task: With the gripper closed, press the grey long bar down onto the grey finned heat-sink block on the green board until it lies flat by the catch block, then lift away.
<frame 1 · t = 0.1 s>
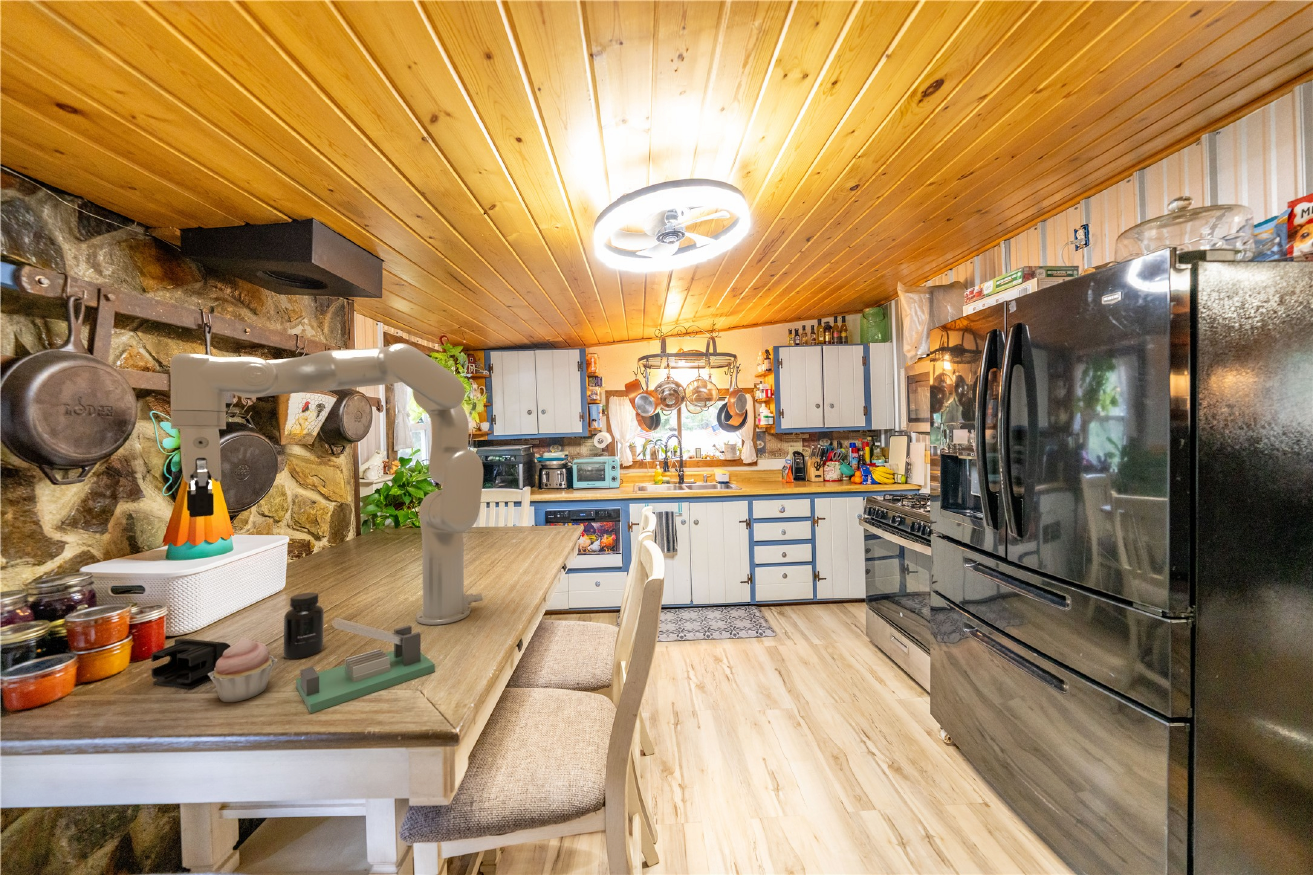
hand: (200, 513, 92), 31 cm above the table, fingers open, 9 cm apart
grey long bar: (374, 632, 93), point 8 cm above the table, hinge at 30.0°
board: (367, 679, 93), on the table
cupcake: (243, 694, 88), on the table
supplement bottle: (304, 653, 104), on the table
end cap: (192, 679, 93), on the table
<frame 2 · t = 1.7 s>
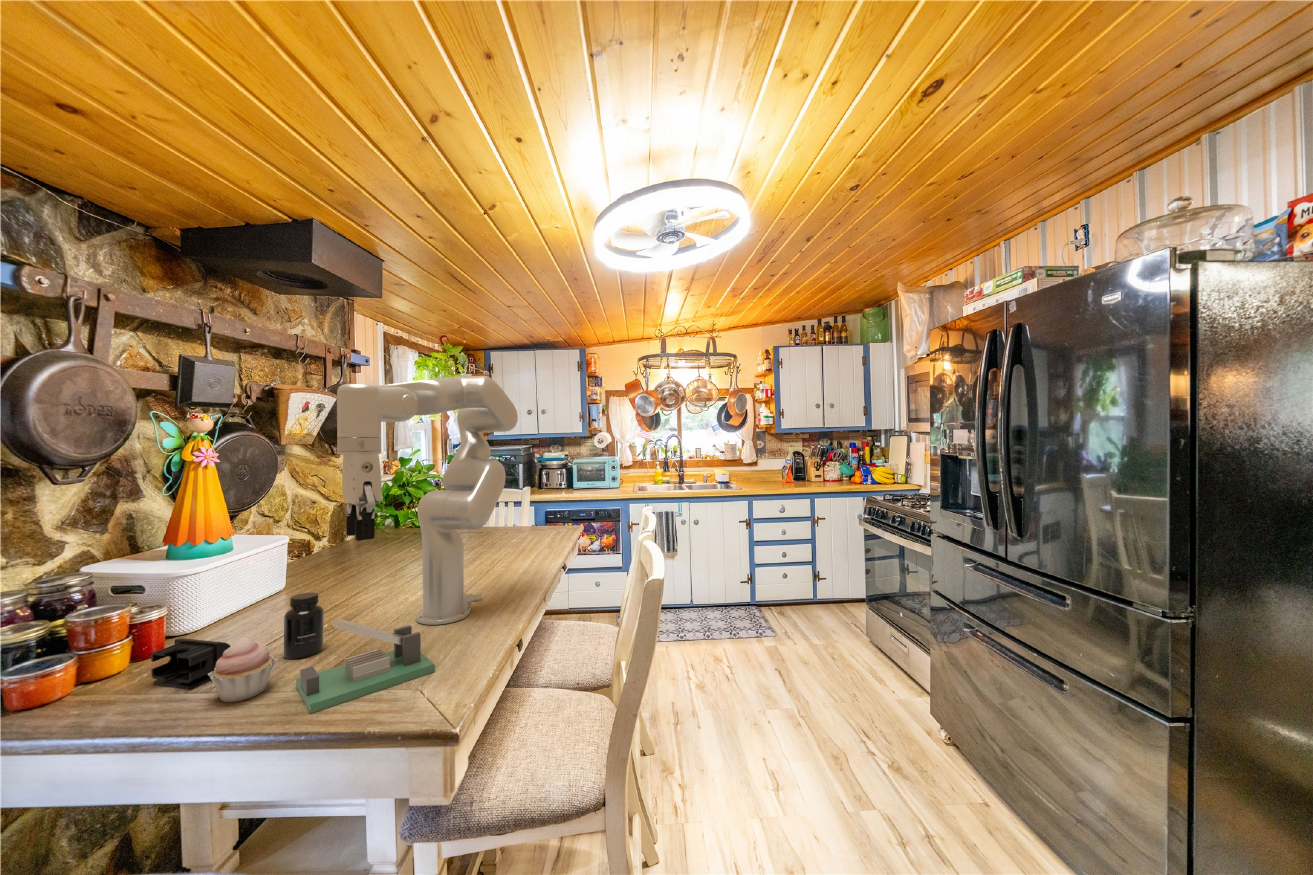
hand: (360, 536, 99), 25 cm above the table, fingers open, 5 cm apart
nothing on the table moved.
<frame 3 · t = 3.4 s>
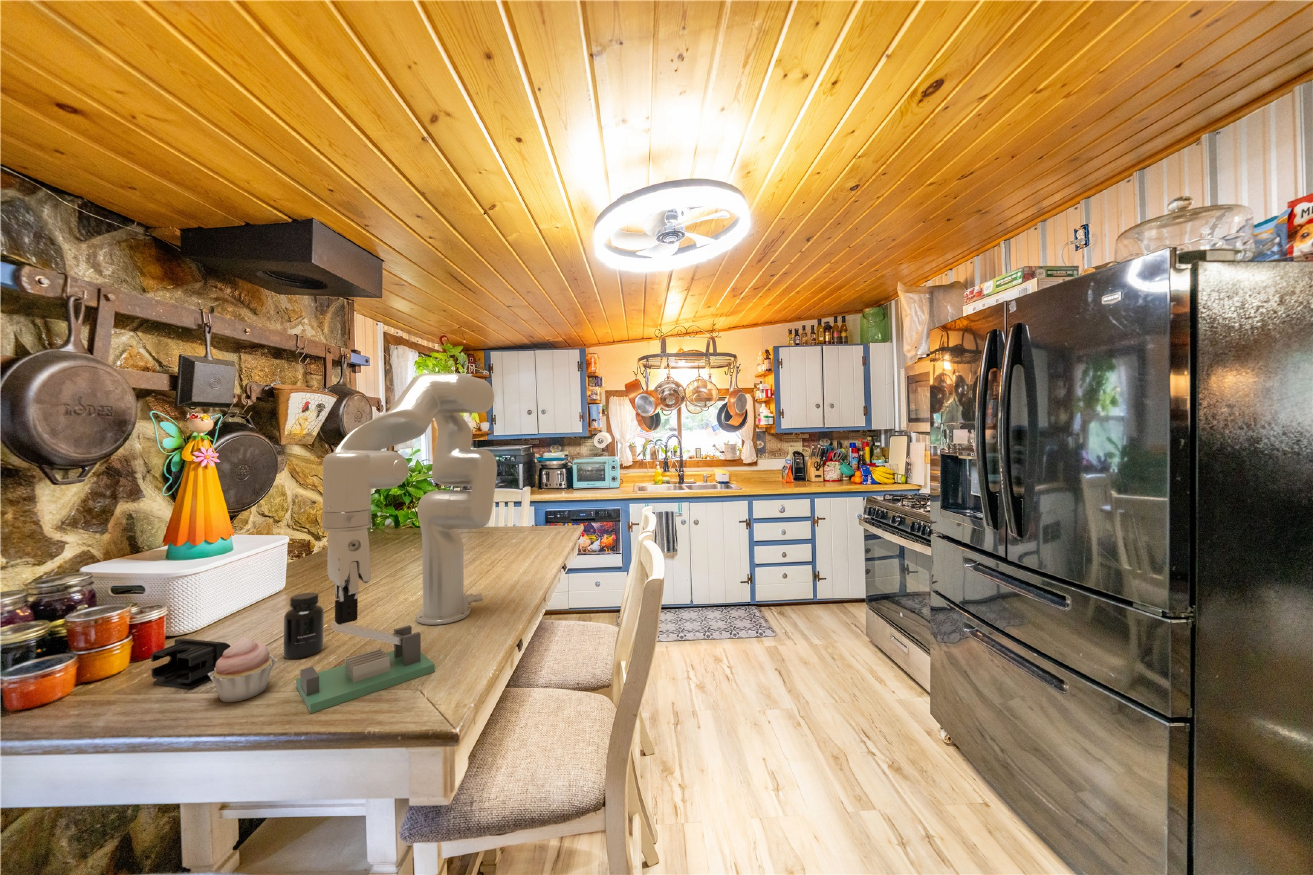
hand: (346, 621, 90), 12 cm above the table, fingers closed
grey long bar: (374, 634, 93), point 8 cm above the table, hinge at 28.1°, touching gripper
everything else where it was.
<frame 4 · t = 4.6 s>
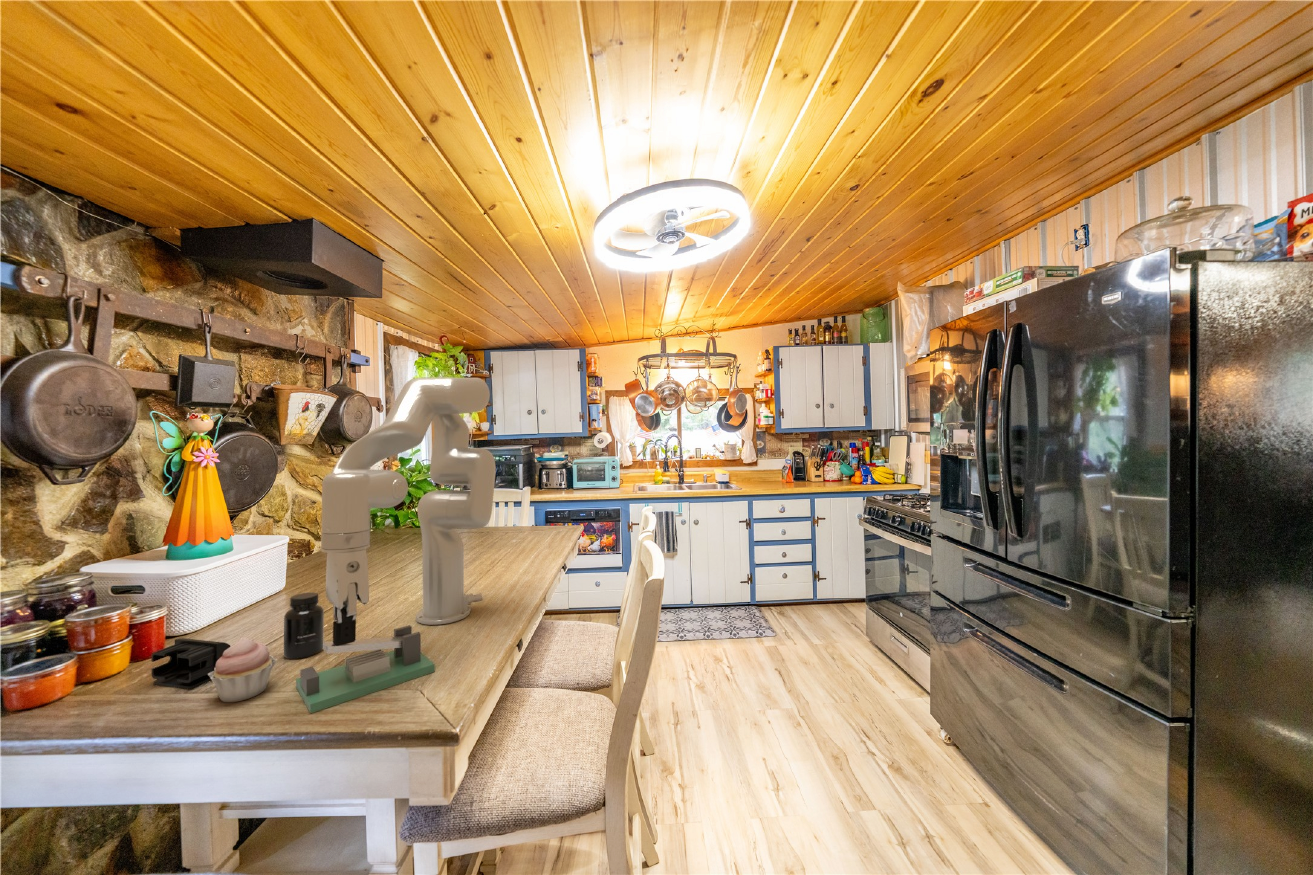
hand: (344, 642, 89), 8 cm above the table, fingers closed
grey long bar: (370, 644, 93), point 6 cm above the table, hinge at 12.3°, touching gripper
everything else where it was.
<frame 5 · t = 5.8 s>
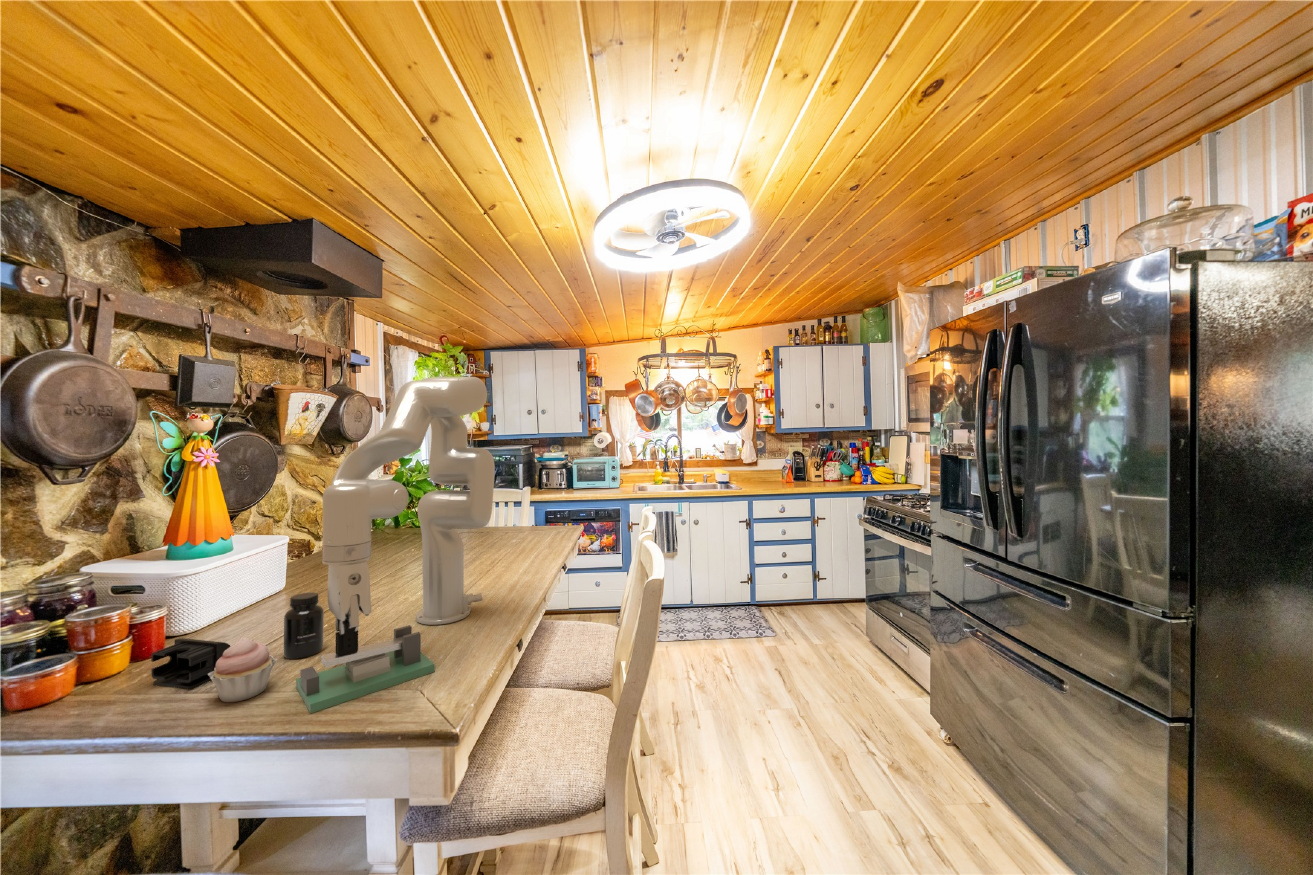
hand: (346, 653, 90), 6 cm above the table, fingers closed
grey long bar: (369, 650, 93), point 5 cm above the table, hinge at 2.6°, touching gripper
everything else where it was.
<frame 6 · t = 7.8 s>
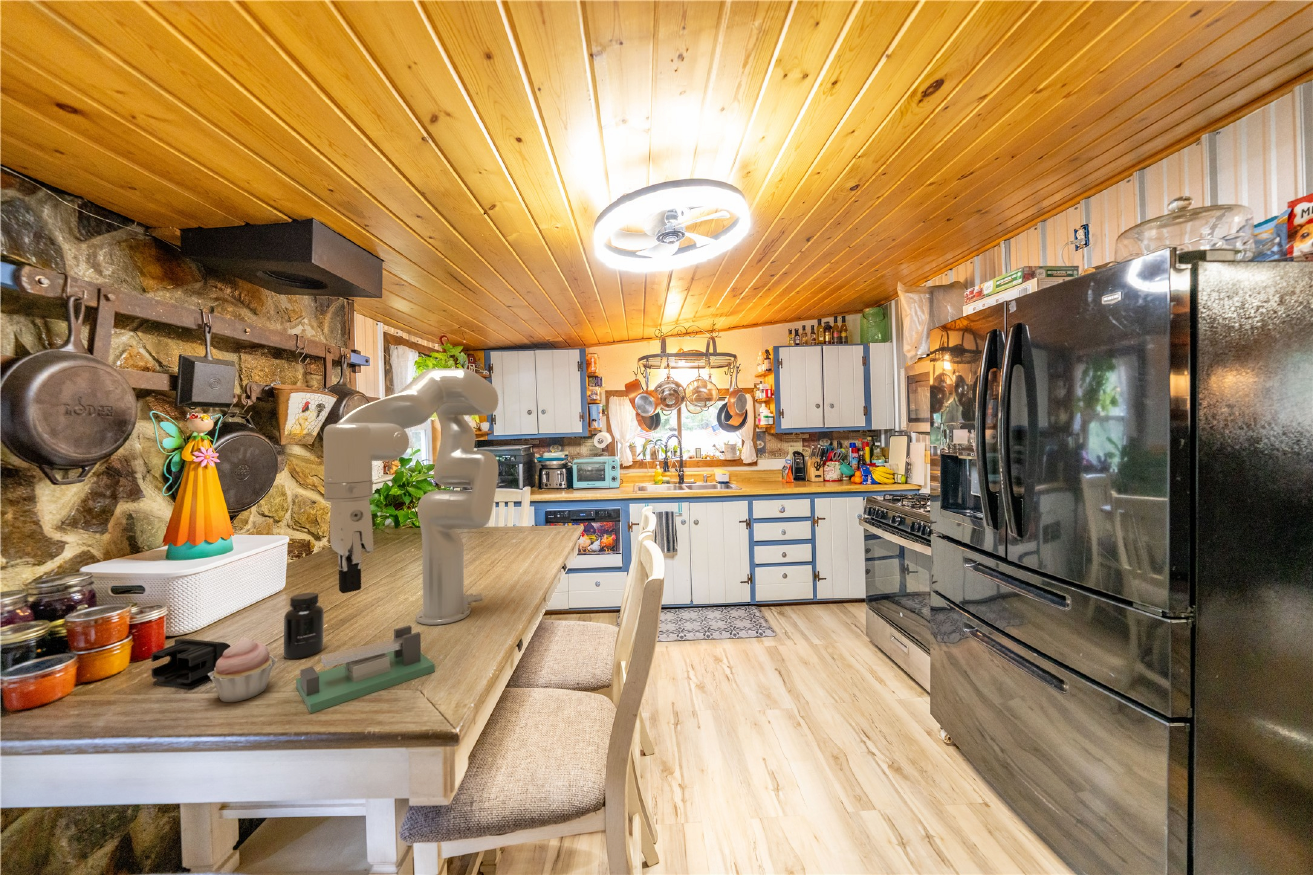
hand: (350, 590, 91), 17 cm above the table, fingers closed
grey long bar: (369, 650, 93), point 5 cm above the table, hinge at 2.5°
everything else where it was.
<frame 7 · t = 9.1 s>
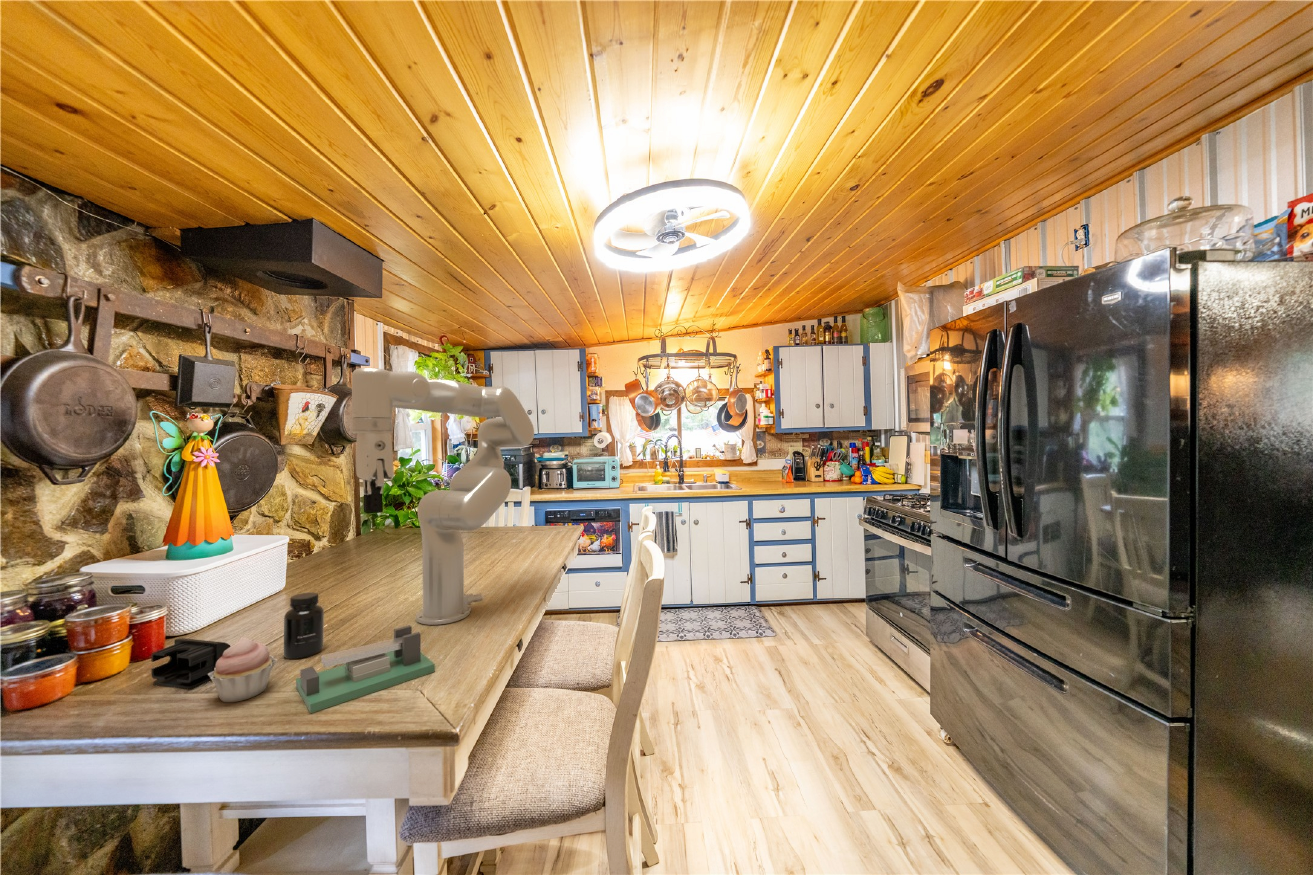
hand: (373, 512, 106), 29 cm above the table, fingers closed
nothing on the table moved.
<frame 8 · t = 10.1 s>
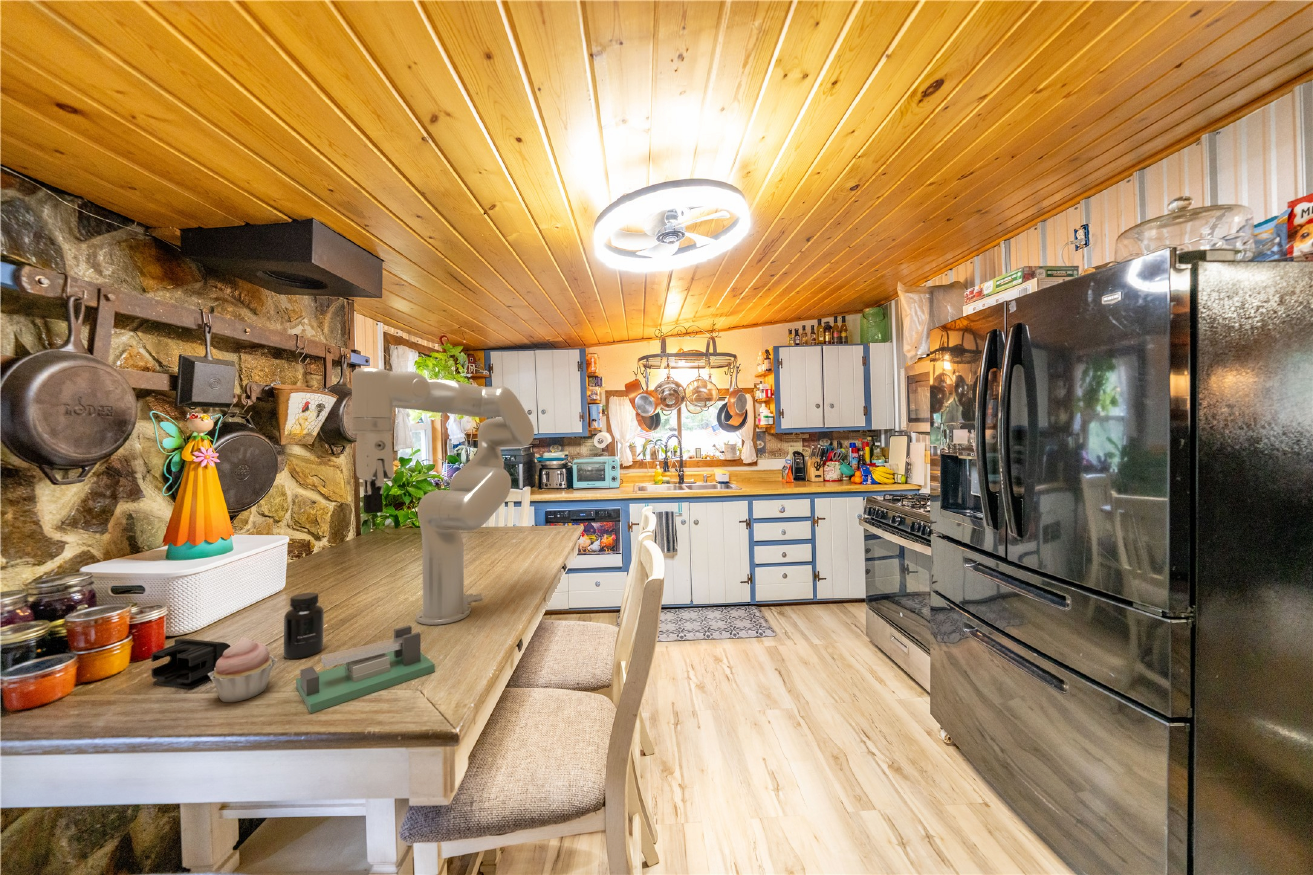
hand: (373, 512, 106), 29 cm above the table, fingers closed
nothing on the table moved.
at the end: grey long bar at +2° (first picture: +30°); grey long bar touching nothing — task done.
